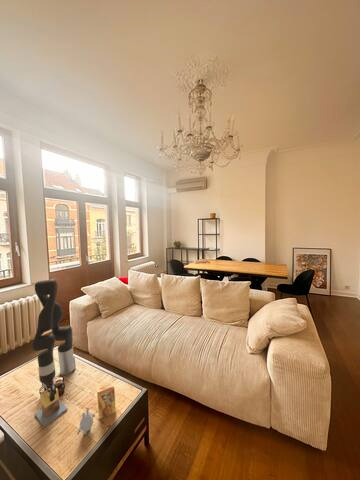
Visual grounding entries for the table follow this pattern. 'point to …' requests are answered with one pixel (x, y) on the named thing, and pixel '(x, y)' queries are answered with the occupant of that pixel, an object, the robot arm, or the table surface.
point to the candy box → (106, 400)
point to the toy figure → (86, 422)
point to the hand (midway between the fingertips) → (49, 397)
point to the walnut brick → (50, 408)
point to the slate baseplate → (52, 417)
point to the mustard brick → (48, 398)
